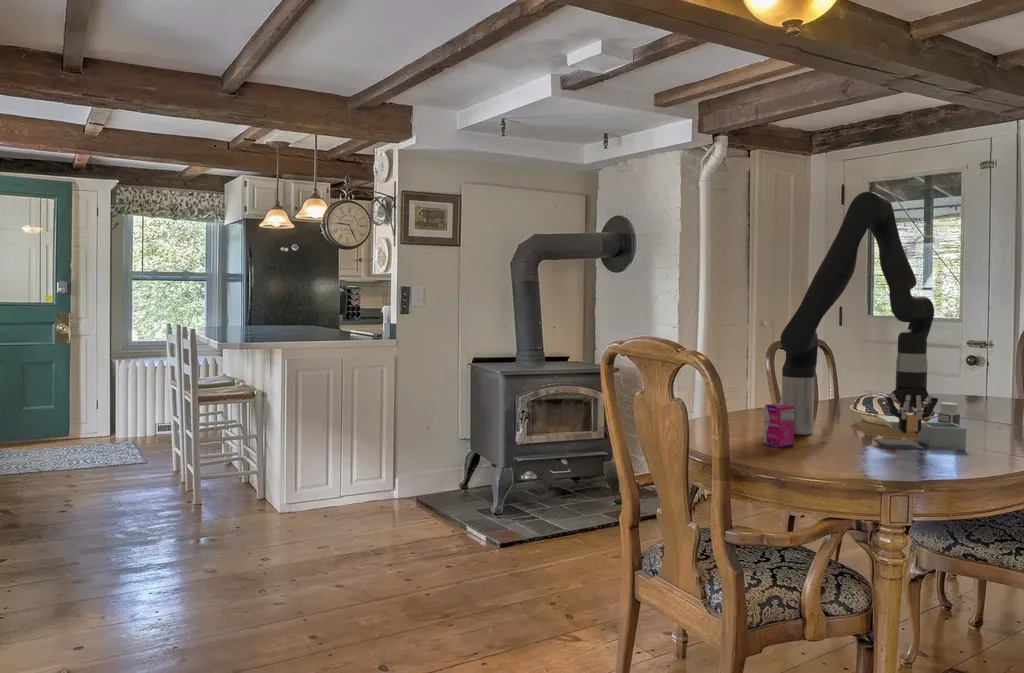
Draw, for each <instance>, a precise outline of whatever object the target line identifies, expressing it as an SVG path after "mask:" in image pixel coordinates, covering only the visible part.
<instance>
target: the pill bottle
mask: <svg viewBox="0 0 1024 673" xmlns="http://www.w3.org/2000/svg"><path fill="white" fill-rule="evenodd" d="M958 409H959V403H956V402H948V401H947V402H940V409H939V410H938V412H937V422H939V423H954V424H957V425H959V426H961V425H960V424H961V421H960V420H961V419H960V418H961V414H960V412H959V411H958Z"/></svg>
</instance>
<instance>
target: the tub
mask: <svg viewBox="0 0 1024 673" xmlns="http://www.w3.org/2000/svg"><path fill="white" fill-rule="evenodd" d="M925 422H926V423H927V426H924V425H921V431H919V433H918V438H917V439H918V440H917V442H918V443H917V444H919V445H921V446H923V447H925V448H926V449H929V450H947V451H949V450H950V451H966V446H967V445H966V444H967V443H966V442H967V428H966V427H964V426H961V425H960V426H959V425H957V424H954V423H939V422H938V421H937V422H935V421H934V422H933V421H925Z"/></svg>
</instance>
